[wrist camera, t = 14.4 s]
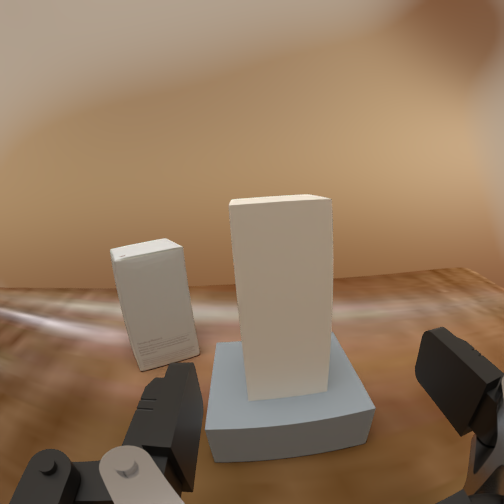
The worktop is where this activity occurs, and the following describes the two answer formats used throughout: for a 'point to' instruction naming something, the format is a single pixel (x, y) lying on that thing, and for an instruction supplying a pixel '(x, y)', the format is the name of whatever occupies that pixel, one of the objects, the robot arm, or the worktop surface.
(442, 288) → the worktop surface
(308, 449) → the plinth
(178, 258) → the supplement box
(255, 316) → the cream block
